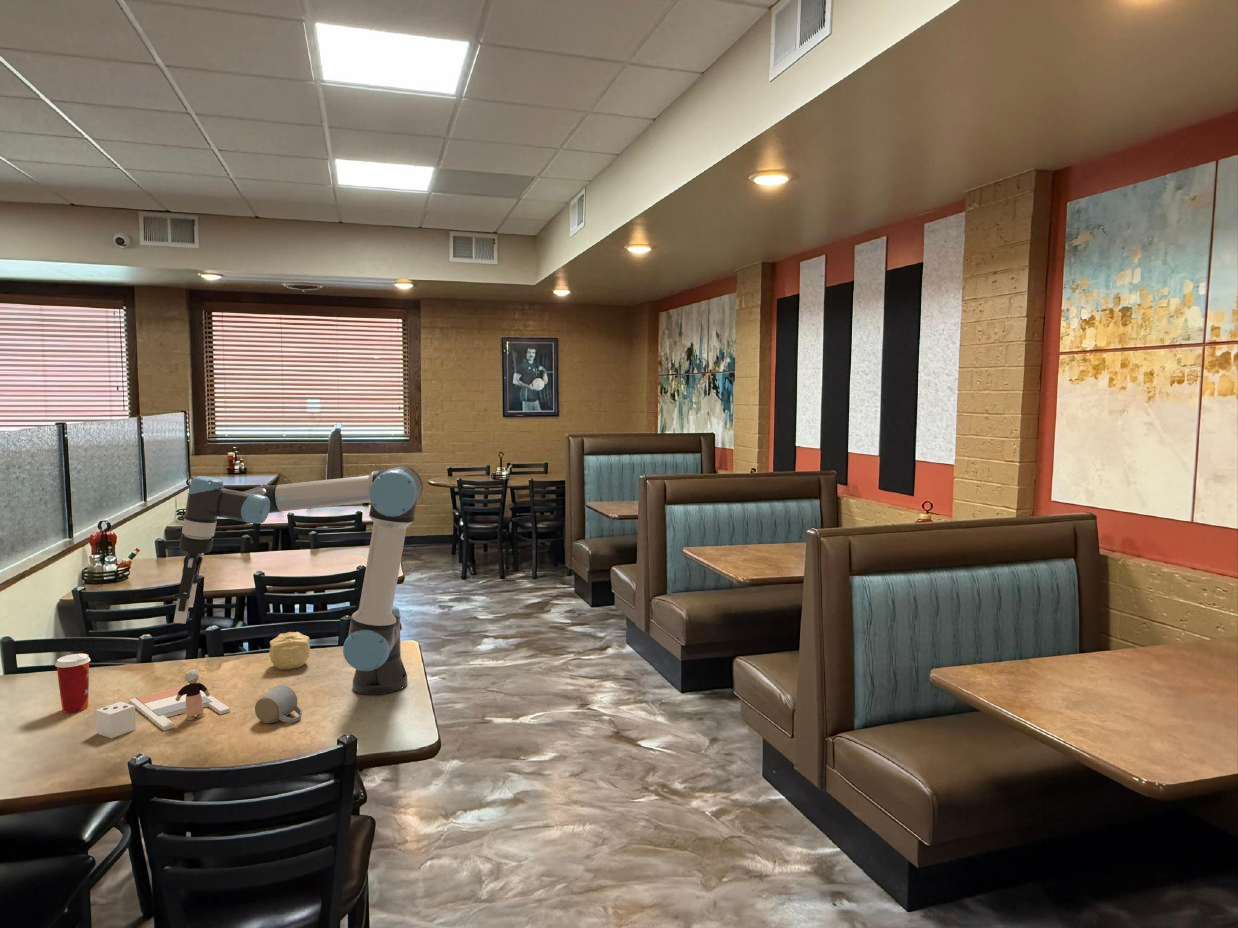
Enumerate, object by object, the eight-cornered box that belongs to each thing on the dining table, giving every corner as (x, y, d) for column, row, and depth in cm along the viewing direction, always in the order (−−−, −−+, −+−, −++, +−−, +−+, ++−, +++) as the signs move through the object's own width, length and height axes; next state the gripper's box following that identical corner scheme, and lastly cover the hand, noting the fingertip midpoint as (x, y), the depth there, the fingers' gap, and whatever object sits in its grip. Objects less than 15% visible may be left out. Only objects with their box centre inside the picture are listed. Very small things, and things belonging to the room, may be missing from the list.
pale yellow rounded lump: (270, 674, 234) (269, 639, 233) (269, 662, 245) (268, 628, 244) (311, 669, 239) (310, 635, 238) (309, 657, 250) (308, 624, 249)
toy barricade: (230, 711, 206) (230, 707, 206) (163, 730, 195) (163, 725, 194) (192, 687, 224) (192, 682, 224) (129, 702, 212) (129, 698, 212)
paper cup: (99, 706, 210) (96, 655, 208) (69, 716, 203) (66, 664, 201) (81, 701, 213) (78, 651, 212) (50, 711, 206) (47, 659, 205)
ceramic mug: (252, 723, 199) (252, 694, 198) (272, 711, 207) (272, 683, 206) (290, 728, 197) (289, 698, 196) (308, 715, 205) (308, 686, 204)
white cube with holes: (136, 729, 195) (135, 705, 195) (111, 738, 190) (110, 713, 189) (121, 724, 198) (120, 701, 197) (96, 733, 193) (95, 709, 192)
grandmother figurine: (206, 711, 207) (205, 664, 205) (211, 715, 204) (210, 668, 203) (174, 719, 201) (172, 671, 200) (179, 724, 198) (177, 675, 197)
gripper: (188, 524, 214) (174, 599, 215) (173, 544, 191) (158, 628, 192) (218, 527, 217) (205, 601, 218) (207, 548, 194) (193, 631, 195)
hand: (183, 614), depth 205 cm, fingers open, 13 cm apart
